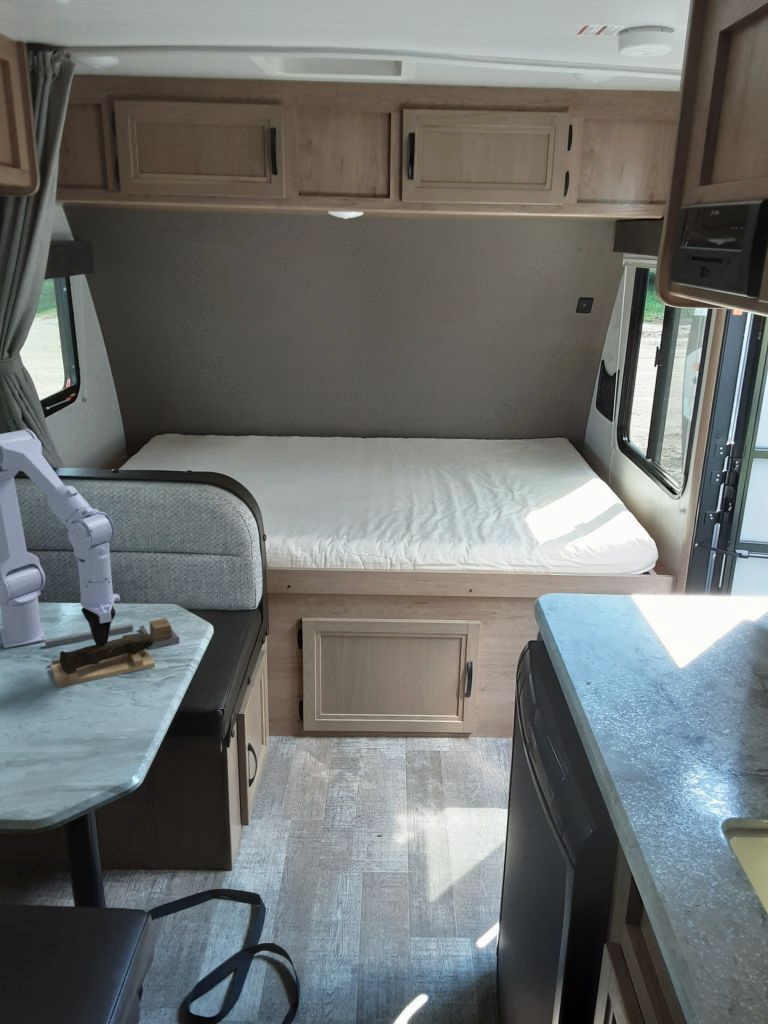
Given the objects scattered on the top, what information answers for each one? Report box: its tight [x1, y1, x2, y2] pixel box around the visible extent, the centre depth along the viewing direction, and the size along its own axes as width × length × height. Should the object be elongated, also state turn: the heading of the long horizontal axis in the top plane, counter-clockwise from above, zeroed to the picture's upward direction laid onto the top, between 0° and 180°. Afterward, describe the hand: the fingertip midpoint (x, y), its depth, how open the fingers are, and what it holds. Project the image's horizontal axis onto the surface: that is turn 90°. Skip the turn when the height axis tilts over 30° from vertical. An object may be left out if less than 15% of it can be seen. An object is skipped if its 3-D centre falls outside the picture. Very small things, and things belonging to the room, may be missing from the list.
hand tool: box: [59, 633, 155, 674], centre depth 156 cm, size 19×4×5 cm
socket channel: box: [44, 623, 134, 665], centre depth 165 cm, size 10×18×1 cm, turn 120°
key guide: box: [139, 625, 181, 649], centre depth 170 cm, size 10×6×1 cm, turn 30°
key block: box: [149, 617, 172, 640], centre depth 169 cm, size 4×3×4 cm
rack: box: [50, 649, 156, 688], centre depth 156 cm, size 8×18×2 cm, turn 120°
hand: (101, 642), depth 155 cm, fingers closed
